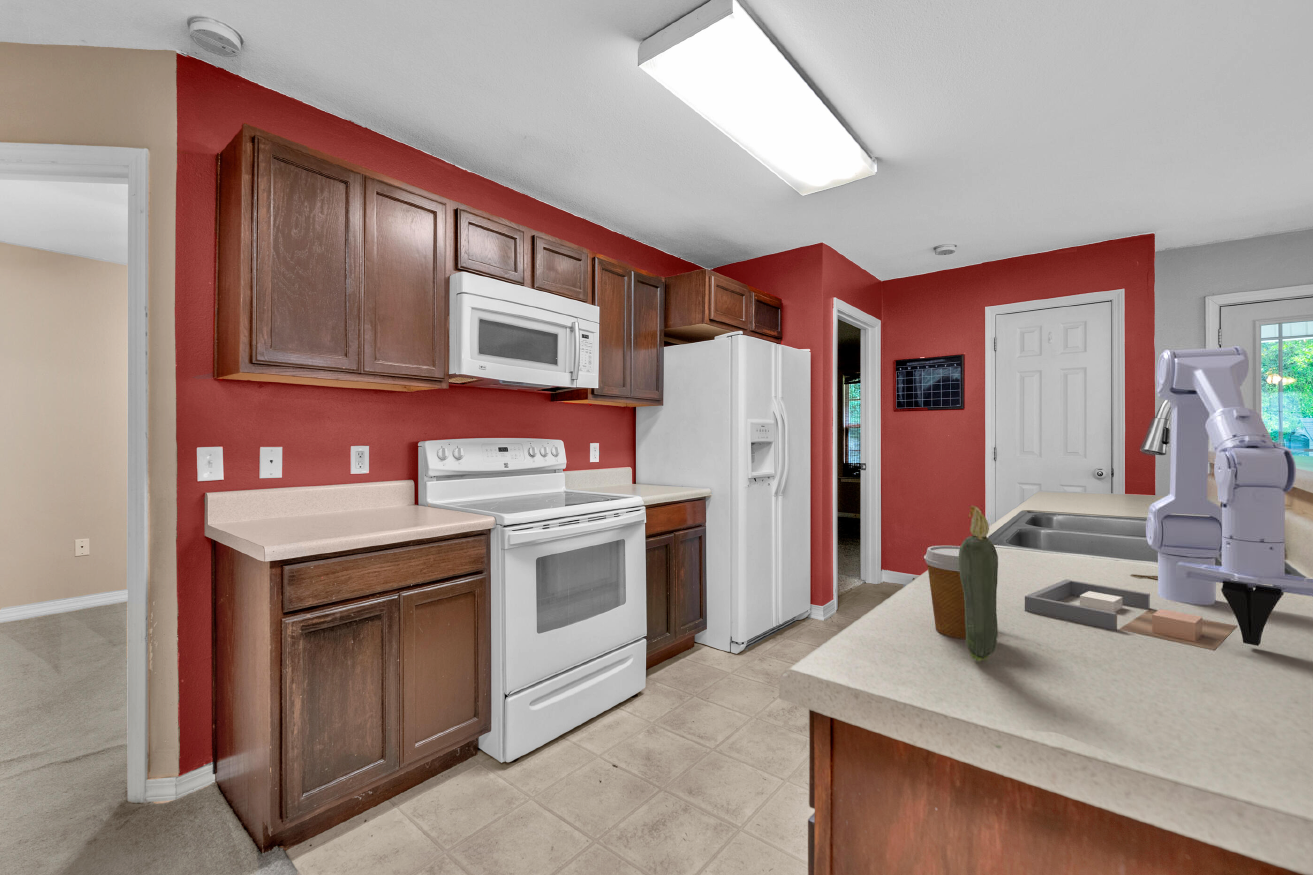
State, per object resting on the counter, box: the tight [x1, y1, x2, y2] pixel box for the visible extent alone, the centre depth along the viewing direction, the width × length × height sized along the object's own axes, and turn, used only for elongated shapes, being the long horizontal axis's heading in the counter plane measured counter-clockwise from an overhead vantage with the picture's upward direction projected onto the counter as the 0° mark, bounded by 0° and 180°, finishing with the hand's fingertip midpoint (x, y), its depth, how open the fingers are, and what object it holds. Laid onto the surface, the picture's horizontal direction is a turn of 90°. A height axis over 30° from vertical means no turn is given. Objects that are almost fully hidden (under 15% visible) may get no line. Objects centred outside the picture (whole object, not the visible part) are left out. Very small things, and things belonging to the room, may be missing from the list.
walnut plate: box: [1118, 608, 1238, 651], centre depth 84 cm, size 16×10×1 cm, turn 127°
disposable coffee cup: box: [923, 545, 966, 640], centre depth 85 cm, size 10×10×12 cm
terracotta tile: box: [1152, 608, 1203, 641], centre depth 81 cm, size 4×4×2 cm
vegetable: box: [959, 505, 999, 663], centre depth 73 cm, size 4×4×20 cm
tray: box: [1024, 578, 1151, 632], centre depth 92 cm, size 18×12×4 cm, turn 127°
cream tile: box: [1079, 591, 1123, 613], centre depth 94 cm, size 4×4×2 cm
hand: (1251, 642), depth 75 cm, fingers closed
